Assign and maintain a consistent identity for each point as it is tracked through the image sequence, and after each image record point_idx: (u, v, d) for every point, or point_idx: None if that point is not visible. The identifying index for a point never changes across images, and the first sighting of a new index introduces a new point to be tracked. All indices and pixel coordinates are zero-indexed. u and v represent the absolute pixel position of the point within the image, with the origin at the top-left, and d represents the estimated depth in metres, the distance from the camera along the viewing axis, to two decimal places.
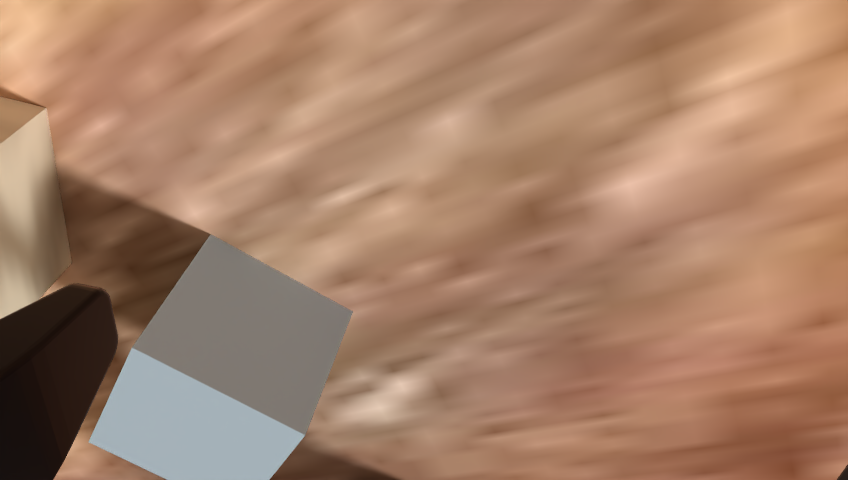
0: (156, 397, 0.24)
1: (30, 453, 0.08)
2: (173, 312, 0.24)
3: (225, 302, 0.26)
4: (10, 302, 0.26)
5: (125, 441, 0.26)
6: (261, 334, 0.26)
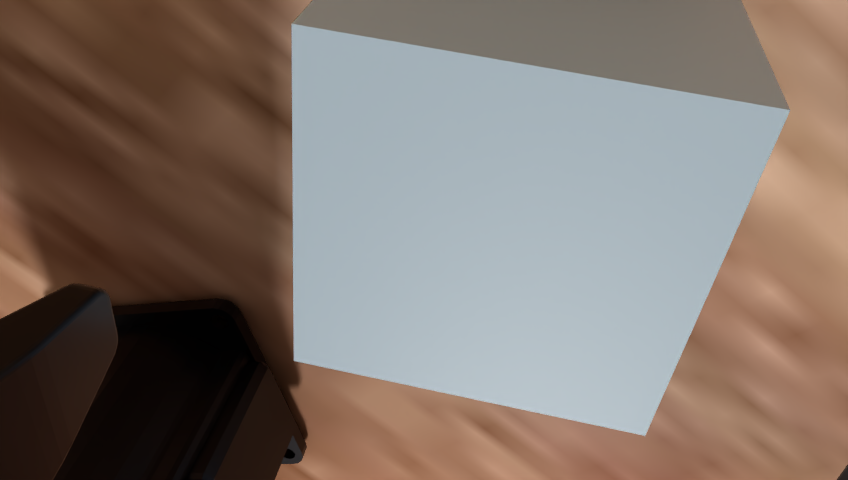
0: (606, 177, 0.10)
1: (30, 453, 0.08)
2: None
3: None
4: None
5: (371, 118, 0.10)
6: None
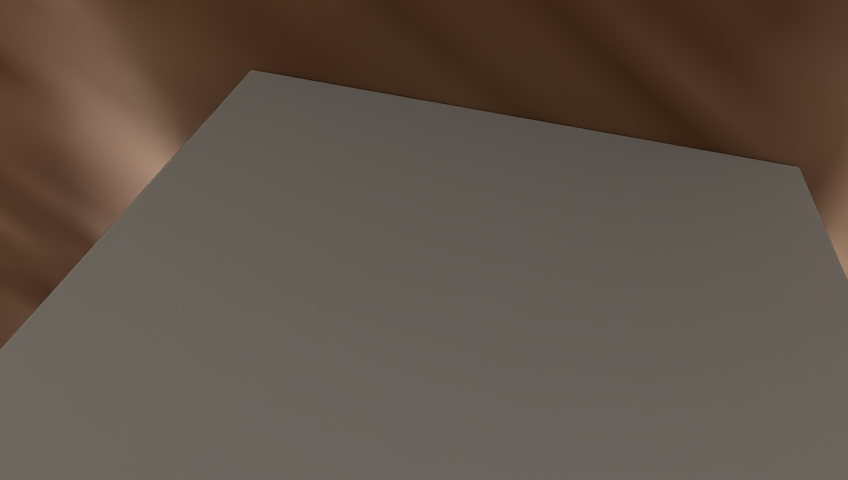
0: None
1: None
2: None
3: None
4: None
5: None
6: None
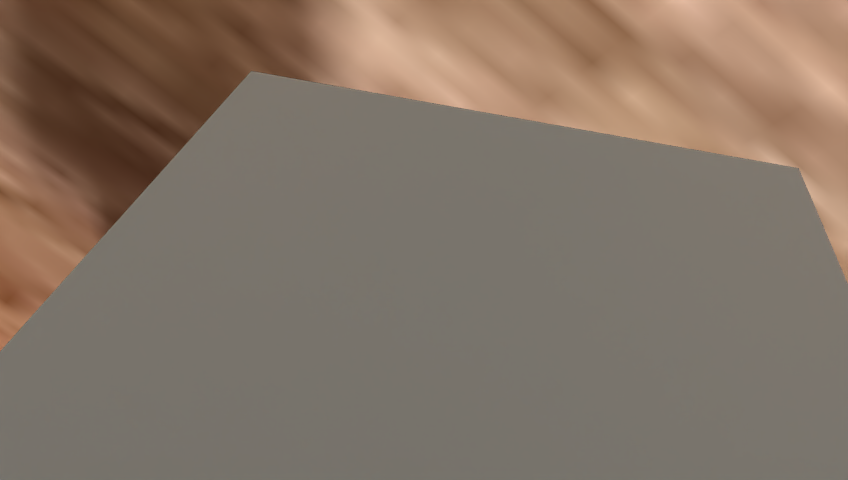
0: None
1: None
2: None
3: None
4: None
5: None
6: None
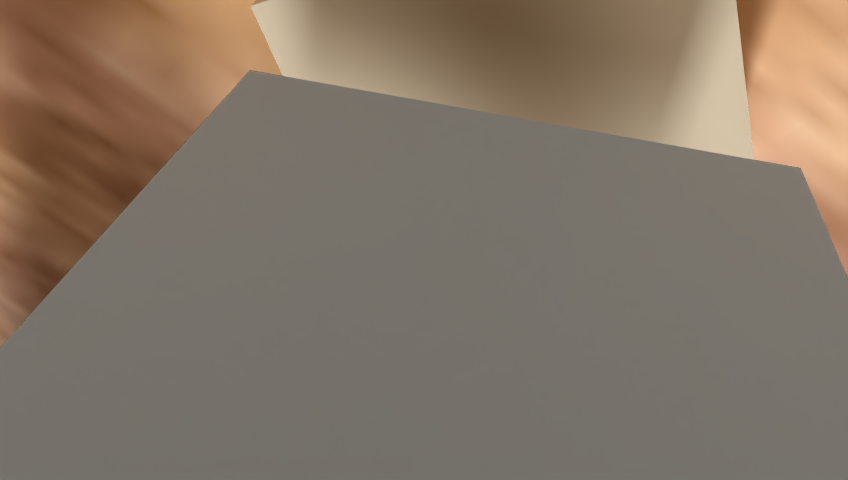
0: None
1: None
2: None
3: None
4: None
5: None
6: None
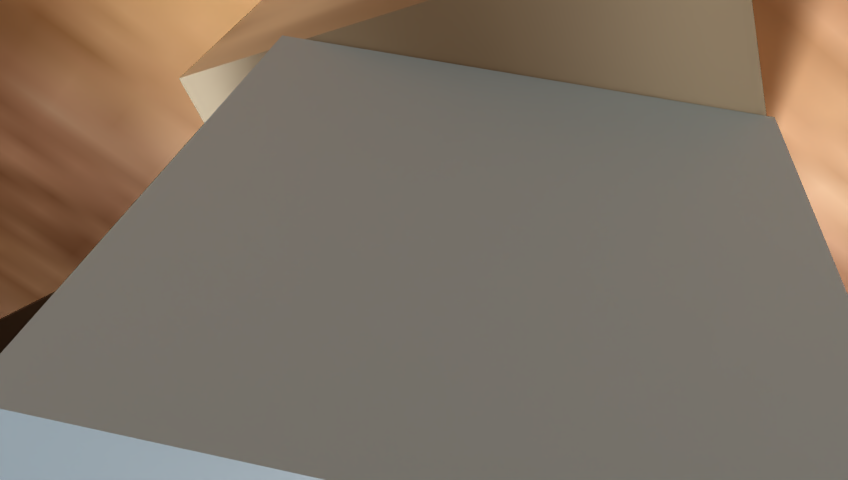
0: None
1: None
2: None
3: None
4: None
5: None
6: None
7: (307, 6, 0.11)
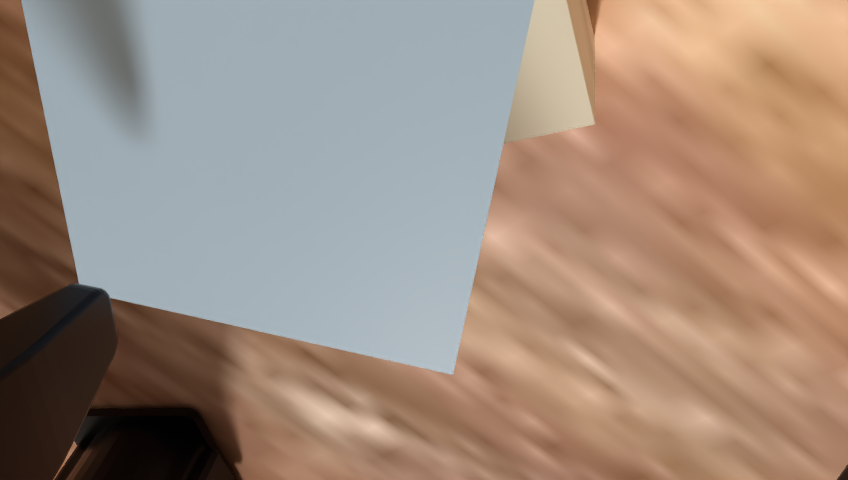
0: (361, 68, 0.09)
1: (30, 453, 0.08)
2: None
3: None
4: None
5: None
6: None
7: None
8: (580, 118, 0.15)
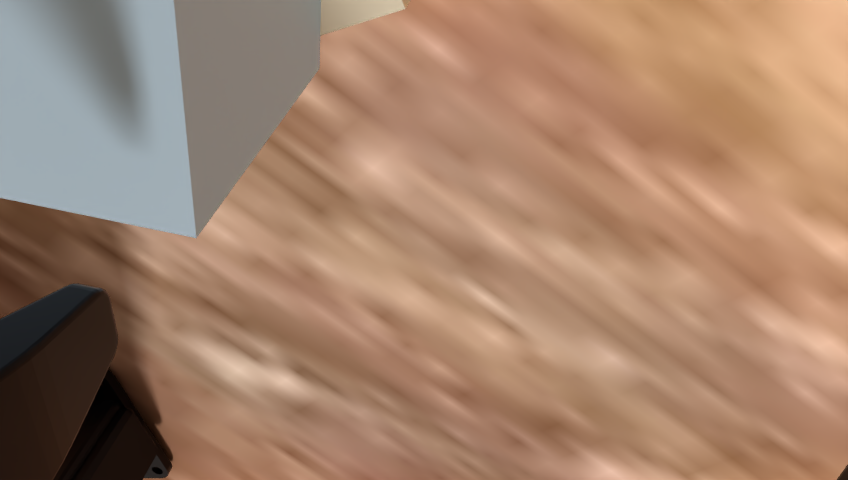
0: None
1: (30, 453, 0.08)
2: None
3: None
4: None
5: None
6: None
7: None
8: (390, 3, 0.14)
